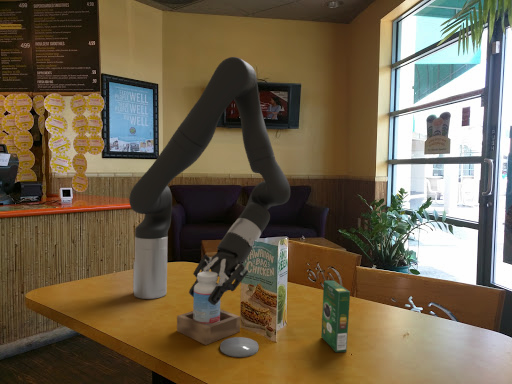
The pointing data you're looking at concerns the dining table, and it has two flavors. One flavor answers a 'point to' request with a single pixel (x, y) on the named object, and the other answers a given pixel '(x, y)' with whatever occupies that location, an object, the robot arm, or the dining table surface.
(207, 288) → the pill bottle
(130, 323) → the dining table surface
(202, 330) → the square open box
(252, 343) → the coaster
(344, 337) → the coffee box
